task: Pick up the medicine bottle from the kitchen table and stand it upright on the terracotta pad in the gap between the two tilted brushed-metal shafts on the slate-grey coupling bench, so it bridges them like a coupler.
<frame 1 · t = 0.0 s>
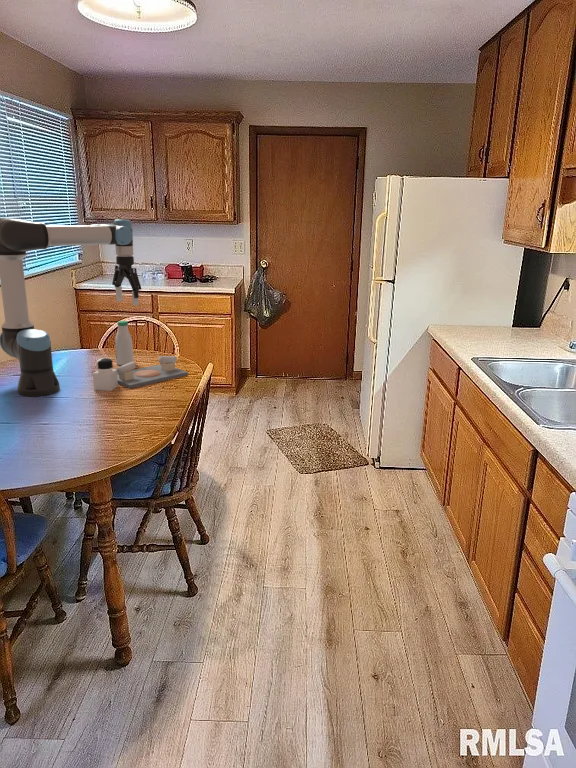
hand: (127, 303, 254), 28 cm above the table, tool pointing down, fingers open, 13 cm apart
coupling bench: (148, 377, 241), on the table
milk bottle: (125, 364, 260), on the table
medicine bottle: (106, 388, 225), on the table
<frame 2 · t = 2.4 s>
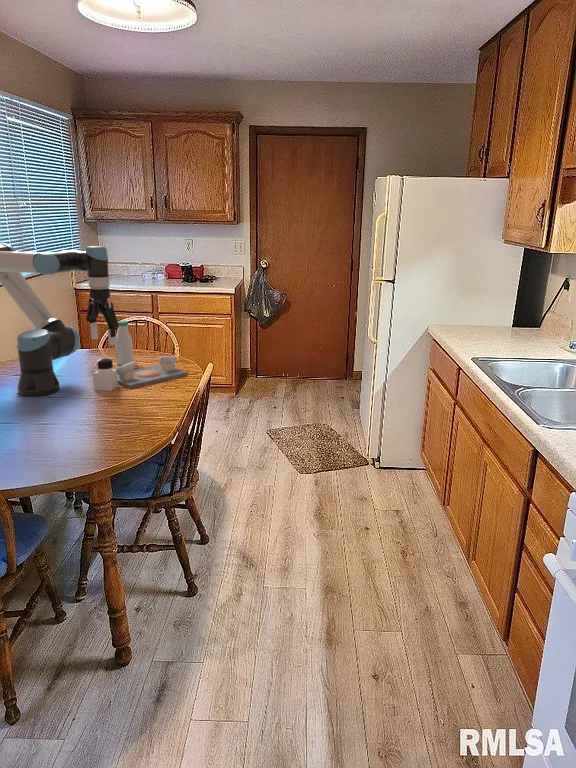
hand: (103, 341, 219), 19 cm above the table, tool pointing down, fingers open, 13 cm apart
nothing on the table moved.
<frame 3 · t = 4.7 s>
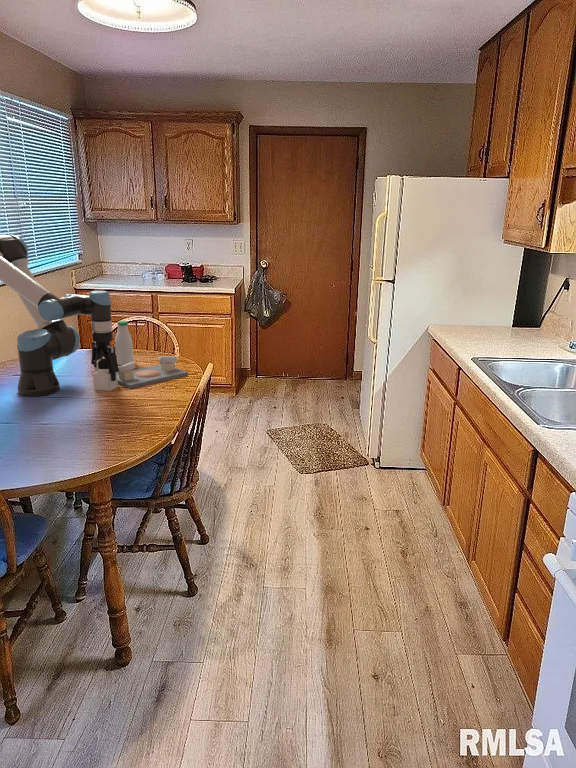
hand: (106, 385, 224), 1 cm above the table, tool pointing down, fingers closed on medicine bottle, 10 cm apart
medicine bottle: (106, 388, 225), on the table, touching gripper
everything else where it was.
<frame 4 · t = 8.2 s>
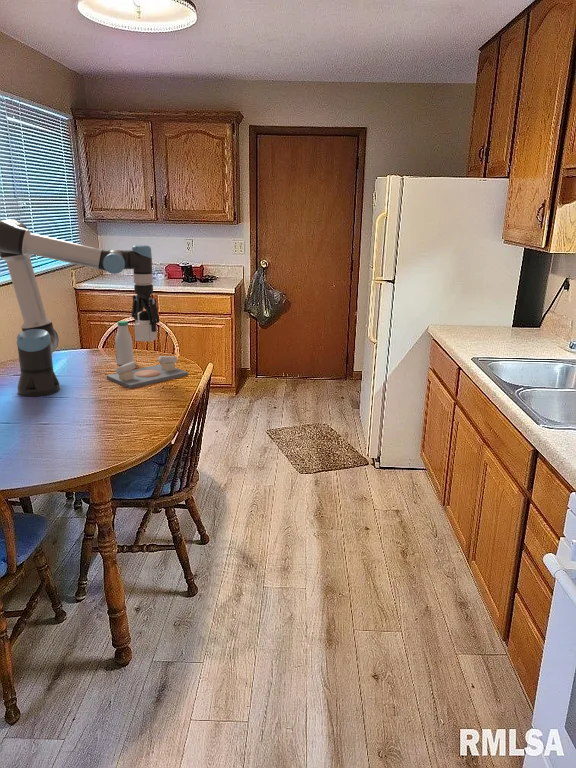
hand: (146, 337, 235), 18 cm above the table, tool pointing down, fingers closed on medicine bottle, 10 cm apart
medicine bottle: (146, 340, 235), point 16 cm above the table, touching gripper
everything else where it was.
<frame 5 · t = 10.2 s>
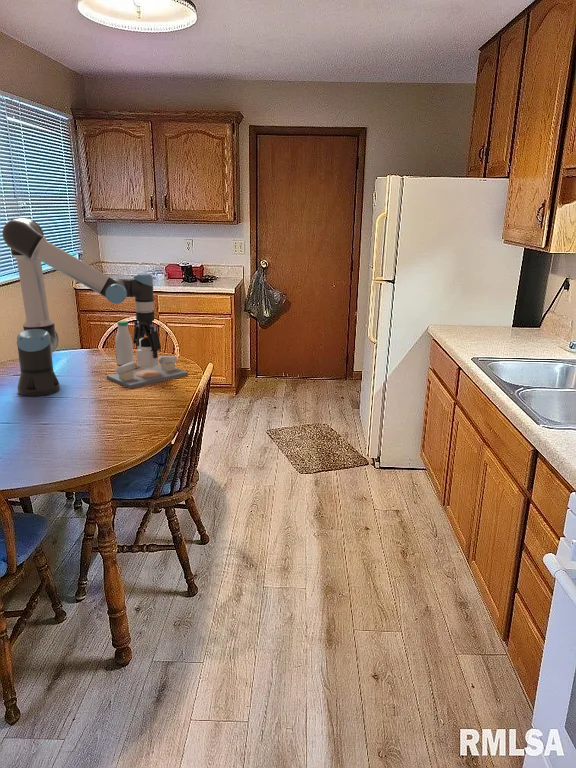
hand: (147, 362, 239), 6 cm above the table, tool pointing down, fingers closed on medicine bottle, 10 cm apart
medicine bottle: (147, 365, 239), point 5 cm above the table, touching gripper
everything else where it was.
when the fingers open (5 cm above the table, at t = 11.6 s): medicine bottle drops 2 cm, resting on coupling bench.
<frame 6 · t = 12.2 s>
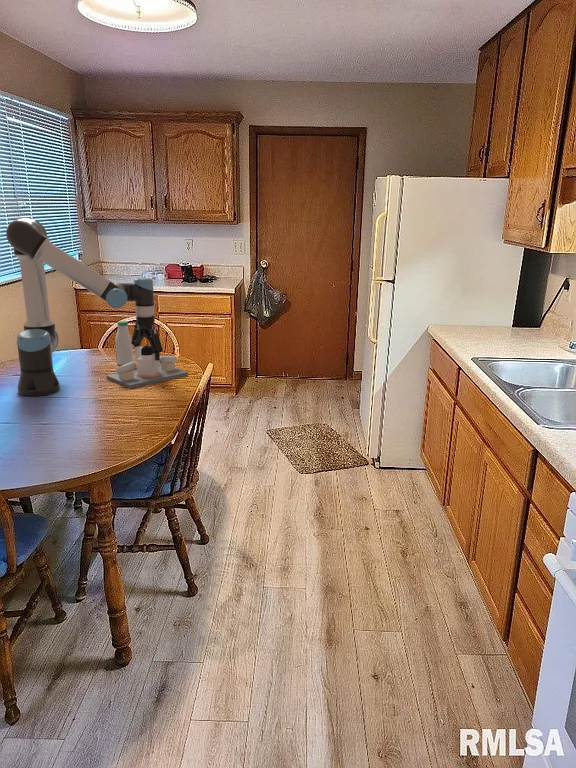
hand: (147, 364, 239), 6 cm above the table, tool pointing down, fingers open, 13 cm apart
medicine bottle: (147, 373, 240), point 2 cm above the table, touching coupling bench
everything else where it was.
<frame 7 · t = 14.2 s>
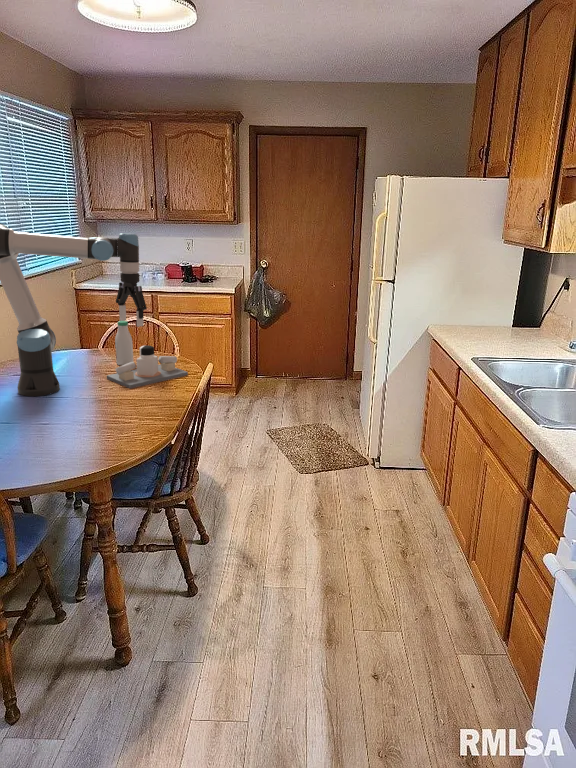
hand: (131, 323, 234), 23 cm above the table, tool pointing down, fingers open, 13 cm apart
nothing on the table moved.
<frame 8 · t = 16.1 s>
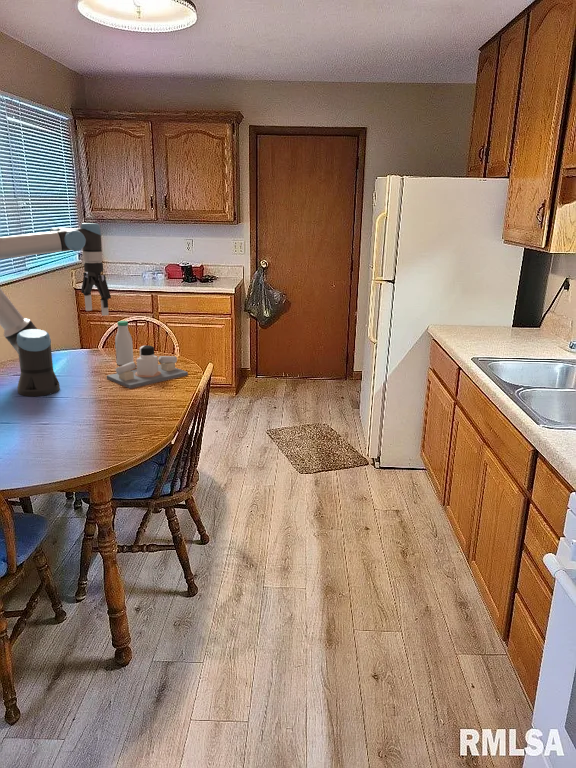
hand: (97, 312, 236), 27 cm above the table, tool pointing down, fingers open, 13 cm apart
nothing on the table moved.
at the end: medicine bottle 0.1 cm off-centre on the coupling bench, point 1.5 cm above the coupling bench's base; medicine bottle tilted 0°; the gripper is holding nothing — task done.
